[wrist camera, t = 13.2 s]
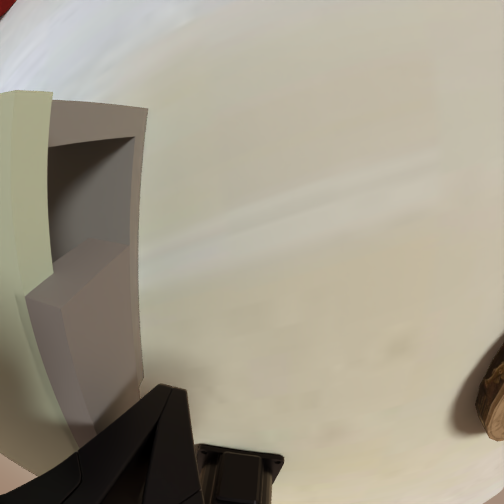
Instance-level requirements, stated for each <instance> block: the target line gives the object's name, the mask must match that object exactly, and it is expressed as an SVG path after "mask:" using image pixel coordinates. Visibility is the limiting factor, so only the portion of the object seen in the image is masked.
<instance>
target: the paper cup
mask: <svg viewBox="0 0 504 504" xmlns="http://www.w3.org/2000/svg"><path fill="white" fill-rule="evenodd" d="M15 1H16V0H0V17H1V16H2V15H4V14H5V13H6V12H7V11H8V10H9V9H10V7H11V6H12V5H13V4H14V3H15Z"/></svg>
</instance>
